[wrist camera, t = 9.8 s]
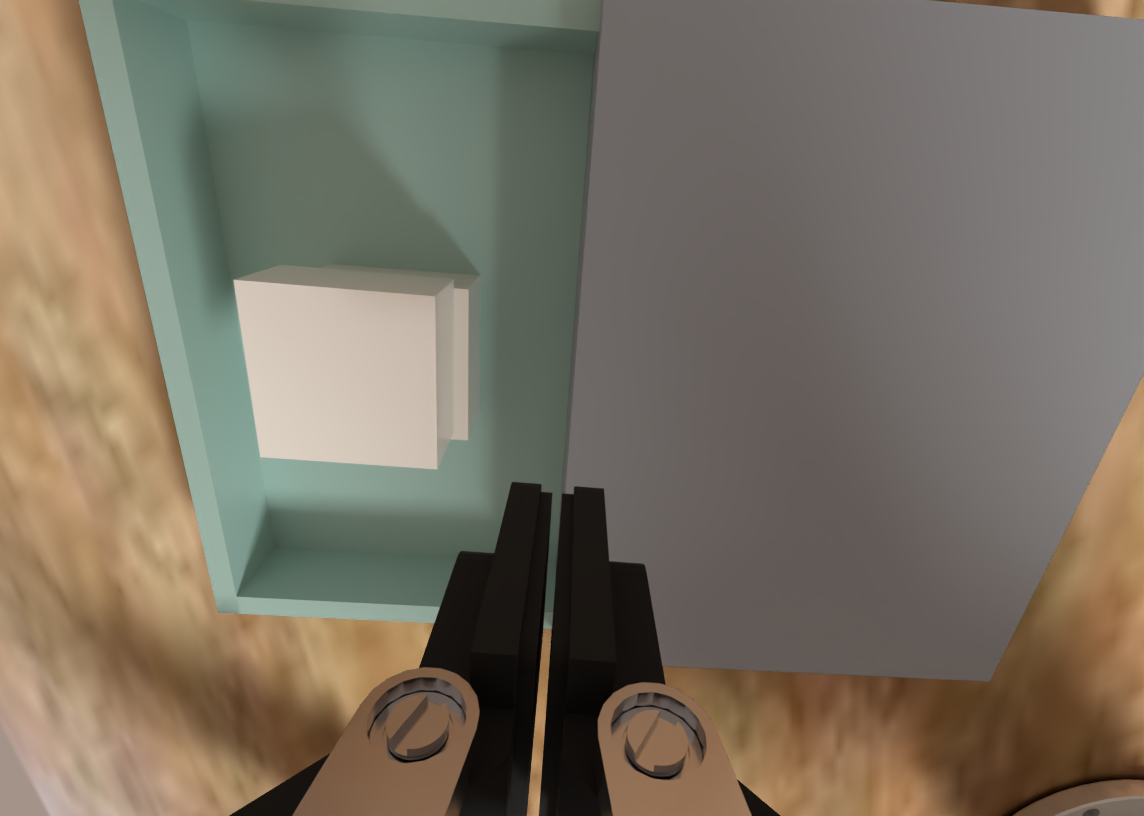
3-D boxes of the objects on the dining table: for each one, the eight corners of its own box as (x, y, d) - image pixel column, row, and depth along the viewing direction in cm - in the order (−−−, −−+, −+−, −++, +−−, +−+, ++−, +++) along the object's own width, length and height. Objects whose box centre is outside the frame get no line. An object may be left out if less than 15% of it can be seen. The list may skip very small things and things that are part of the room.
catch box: (595, 27, 16) (602, -9, 13) (555, 568, 24) (553, 628, 21) (166, -10, 16) (65, -57, 13) (265, 553, 24) (217, 612, 21)
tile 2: (297, 276, 16) (331, 263, 18) (314, 430, 18) (343, 401, 20) (468, 289, 16) (480, 275, 19) (467, 440, 18) (479, 410, 21)
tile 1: (233, 279, 14) (281, 264, 16) (260, 457, 16) (299, 421, 18) (435, 296, 14) (453, 279, 16) (437, 469, 16) (453, 432, 18)
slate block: (1112, 73, 17) (1313, 35, 12) (911, 587, 25) (989, 681, 20) (595, 27, 16) (606, -30, 12) (555, 568, 24) (552, 660, 20)
